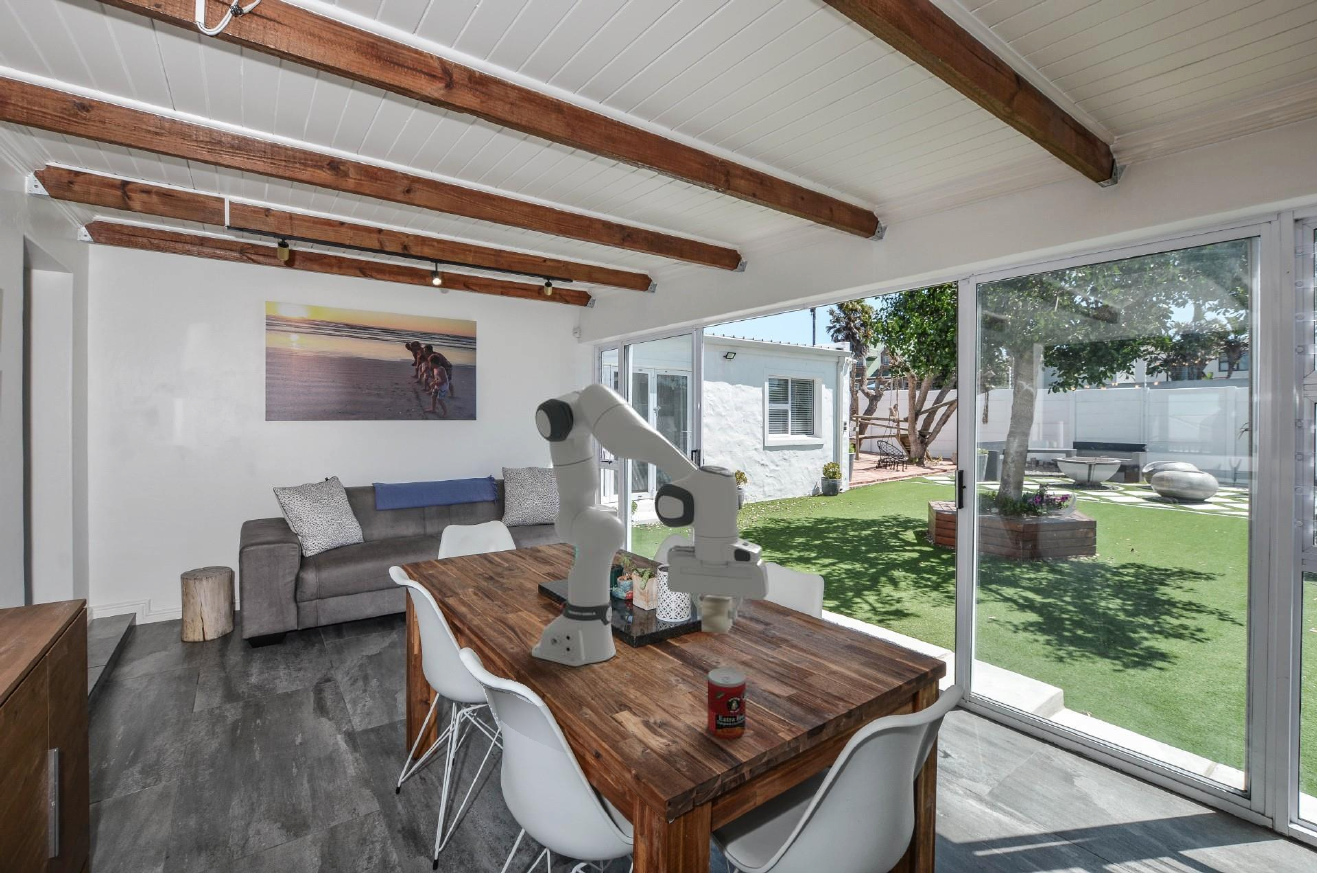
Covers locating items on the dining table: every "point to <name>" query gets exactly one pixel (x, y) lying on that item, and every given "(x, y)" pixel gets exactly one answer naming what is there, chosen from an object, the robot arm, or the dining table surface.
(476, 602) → the dining table surface
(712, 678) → the canned food
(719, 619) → the birch block
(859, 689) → the dining table surface
